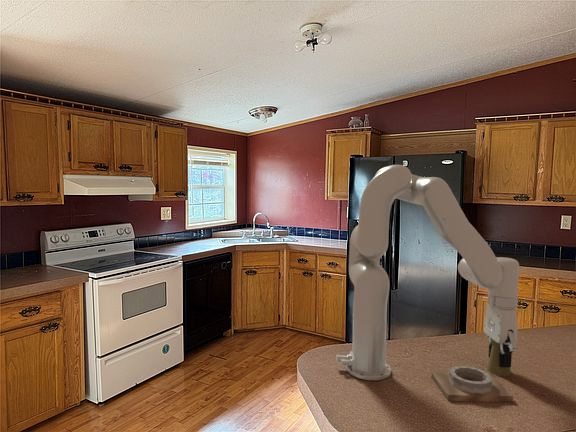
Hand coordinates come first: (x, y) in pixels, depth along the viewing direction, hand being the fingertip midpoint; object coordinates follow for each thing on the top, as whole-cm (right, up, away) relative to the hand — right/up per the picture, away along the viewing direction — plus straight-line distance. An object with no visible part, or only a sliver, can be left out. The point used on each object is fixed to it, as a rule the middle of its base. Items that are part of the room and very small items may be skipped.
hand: (499, 361), depth 113 cm
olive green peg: (0, -3, 0) cm, 3 cm away
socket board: (-13, -4, -10) cm, 17 cm away
